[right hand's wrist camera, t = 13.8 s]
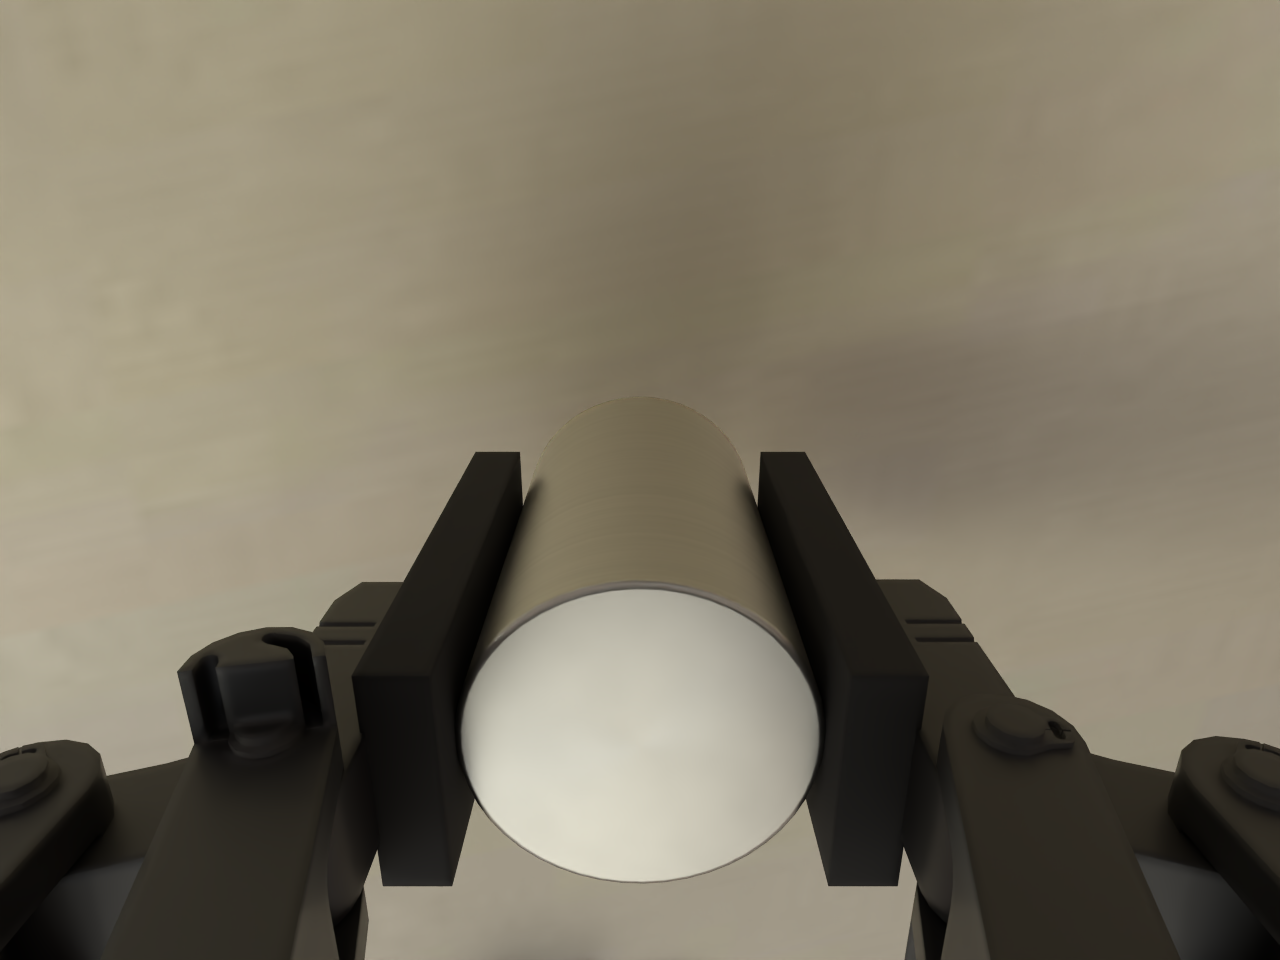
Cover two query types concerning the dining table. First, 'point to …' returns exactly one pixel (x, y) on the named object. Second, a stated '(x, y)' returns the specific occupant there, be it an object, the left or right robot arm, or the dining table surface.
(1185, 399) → the dining table surface
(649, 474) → the canister
